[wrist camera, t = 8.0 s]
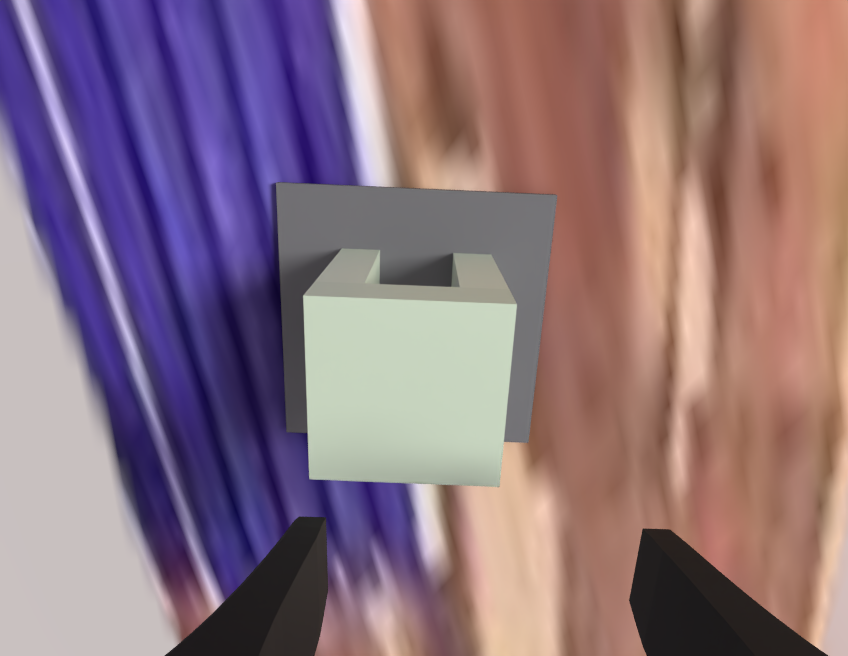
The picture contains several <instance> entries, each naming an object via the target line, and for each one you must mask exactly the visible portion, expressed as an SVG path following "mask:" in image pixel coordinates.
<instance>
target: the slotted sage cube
mask: <svg viewBox="0 0 848 656" xmlns="http://www.w3.org/2000/svg"><path fill="white" fill-rule="evenodd" d="M303 304H304V334H305V365H306V395H307V425H308V455H309V479H317V480H342V481H367V482H391V483H416V484H441V485H465V486H490V487H499V486H500V476H501V465H502V455H503V445H504V434H505V424H506V414H507V403H508V393H509V383H510V372H511V362H512V351H513V341H514V331H515V320H516V310H517V303H516V301H515V299H514V297H513V296H512V294H511V292H510V290H509V288H508V286H507V284H506V282H505V280H504V278H503V276H502V274H501V272H500V270H499V268H498V267H497V265H496V263H495V261H494V259H493V257H492V255H491V254H466V253H453V267H452V285H451V287H439V286H415V285H390V284H380V250H367V249H343V248H342V249H341V250H340V252H339V253H338V254H337V255H336V256H335V258H334V259H333V260H332V261H331V262H330V264H329V265H328V266H327V267H326V269H325V270H324V271H323V272H322V273H321V275H320V276H319V277H318V278H317V279H316V281H315V282H314V283H313V284H312V286H311V287H310V288H309V289H308V290H307V292H306V293H305V294H304V295H303Z"/></svg>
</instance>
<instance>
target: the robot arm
mask: <svg viewBox="0 0 848 656" xmlns="http://www.w3.org/2000/svg"><path fill="white" fill-rule="evenodd" d="M327 593H328V573H327V539H326V518H325V517H298V518H297V519H296V520H295V521H294V522H293V523H292V525H291V526H290V527H289V528H288V530H287V531H286V532H285V534H284V535H283V536H282V537H281V539H280V540H279V541H278V542H277V544H276V545H275V546H274V547H273V548H272V550H271V551H270V552H269V553H268V554H267V556H266V557H265V558H264V559H263V560H262V561H261V563H260V564H259V565H258V566H257V567H256V568H255V569H254V571H253V572H252V573H251V574H250V575H249V576H248V577H247V578H246V580H245V581H244V582H243V583H242V584H241V585H240V586H239V587H238V588H237V589H236V590H235V591H234V592H233V593H232V594H231V595H230V596H229V597H228V598H227V599H226V600H225V601H224V602H223V603H222V604H221V606H220V607H219V608H218V609H217V610H216V611H215V612H214V613H213V614H211V615H210V616H209V617H208V618H207V619H206V620H205V621H204V622H203V623H202V624H201V625H200V626H199V627H198V628H196V629H195V630H194V631H193V632H192V633H191V634H190V635H189V636H187V637H186V638H185V639H184V640H183V641H182V642H181V643H179V644H178V645H177V646H176V647H175V648H174V649H172V650H171V651H170V652H169V653H167V654H166V655H165V656H314V655H315V651H316V648H317V644H318V641H319V637H320V633H321V627H322V622H323V616H324V610H325V605H326V599H327ZM629 601H630V605H631V608H632V612H633V615H634V619H635V622H636V626H637V629H638V632H639V635H640V638H641V642H642V645H643V648H644V650H645V652H646V655H647V656H828V655H827V654H825V653H824V652H822V651H821V650H819V649H818V648H816V647H815V646H813V645H812V644H811V643H809V642H808V641H806V640H805V639H804V638H802V637H801V636H800V635H798V634H797V633H796V632H794V631H793V630H792V629H790V628H789V627H788V626H786V625H785V624H784V623H782V622H781V621H780V620H779V619H777V618H776V617H775V616H773V615H772V614H771V613H769V612H768V611H767V610H766V609H764V608H763V607H762V606H761V605H759V604H758V603H757V602H756V601H754V600H753V599H752V598H751V597H749V596H748V595H747V594H746V593H744V592H743V591H742V590H741V589H740V588H738V587H737V586H736V585H735V584H734V583H732V582H731V581H730V580H729V579H728V578H727V577H725V576H724V575H723V574H722V573H721V572H720V571H718V570H717V569H716V568H715V567H714V566H713V565H711V564H710V563H709V562H708V561H707V560H706V559H704V558H703V557H702V556H701V555H700V554H699V553H697V552H696V551H695V550H694V549H693V548H692V547H690V546H689V545H688V544H687V543H686V542H685V541H683V540H682V539H681V538H680V537H679V536H677V535H676V534H675V533H674V532H672V531H671V530H668V529H643V530H642V535H641V541H640V546H639V551H638V557H637V562H636V567H635V573H634V578H633V583H632V589H631V594H630V599H629Z"/></svg>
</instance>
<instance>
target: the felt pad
mask: <svg viewBox="0 0 848 656" xmlns="http://www.w3.org/2000/svg"><path fill="white" fill-rule="evenodd" d="M276 197H277V220H278V243H279V267H280V290H281V314H282V337H283V360H284V384H285V407H286V430H287V432H296V433H308V425H307V395H306V365H305V334H304V304H303V295H304V294H305V293H306V292H307V290H308V289H309V288H310V287H311V286H312V284H313V283H314V282H315V281H316V279H317V278H318V277H319V276H320V275H321V273H322V272H323V271H324V270H325V269H326V267H327V266H328V265H329V264H330V262H331V261H332V260H333V259H334V258H335V256H336V255H337V254H338V253H339V252H340V250H341V249H342V248H343V249H367V250H380V284H390V285H415V286H439V287H451V285H452V267H453V253H466V254H491V255H492V257H493V259H494V261H495V263H496V265H497V267H498V268H499V270H500V272H501V274H502V276H503V278H504V280H505V282H506V284H507V286H508V288H509V290H510V292H511V294H512V296H513V297H514V299H515V301H516V303H517V310H516V320H515V331H514V341H513V351H512V362H511V372H510V383H509V393H508V403H507V414H506V424H505V434H504V442H523V443H528V441H529V432H530V424H531V415H532V407H533V398H534V389H535V381H536V372H537V364H538V355H539V347H540V338H541V330H542V321H543V313H544V304H545V296H546V287H547V279H548V270H549V262H550V253H551V244H552V236H553V227H554V219H555V210H556V202H557V195H554V194H532V193H509V192H487V191H464V190H442V189H420V188H397V187H375V186H352V185H330V184H307V183H285V182H277V183H276Z"/></svg>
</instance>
